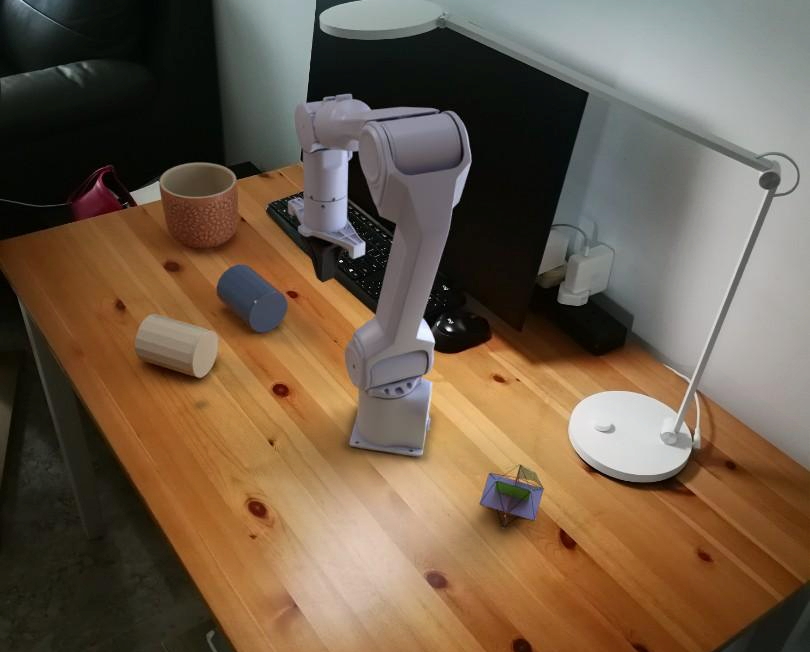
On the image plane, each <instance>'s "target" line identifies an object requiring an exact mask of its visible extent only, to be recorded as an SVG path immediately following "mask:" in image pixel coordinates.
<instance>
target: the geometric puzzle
mask: <svg viewBox="0 0 810 652" xmlns="http://www.w3.org/2000/svg"><path fill="white" fill-rule="evenodd" d="M509 468H511V466H509V467H508V469H509ZM516 468H518V471H517V474H516V476H511V475H507V474H509V473H510V472H512V471H513V470H515V469H516ZM505 469H507V467H505V468H504V470H505ZM498 471H500V470H499V469H498V470H497V472H498ZM494 472H496V470H495V471H493V472H491V471H490V472H488V476H487V480H486V482H485V484H484V487H483V491H482V495H481V498H480V502H479V503H478V505H479V506H481V507H483V508H484V507H485V508H487V509H489V510H491V511H493V512H495V513H497V516H498V518H499V521H500V523H501V524H500V525H501V528H502V529H505V528H507V527H508V528H509V527H511V525H510V524H511V523H513V522H515V520H517V519H521V520H528V521H529V523H530V522H532V521H533V522H536V519H537V514H538V511H539V508H540V504H541V500H542V497H543V492H544V490H545V487H544V486H543V484H542V482H541V481H540V479H539V477H538V475H537V473H536V472H535V471H533V470H531V468H528V467H526V466H525V465H522V464H521V463H519V464H518V465H515V466H514V468H512V469H510V470H509V471H508V472H506V473H505V474H501V475H500V474H499V473H494ZM506 476H507V477H506ZM512 478H514V479H512ZM520 480H521V481H520ZM522 481H523V482H522ZM530 481H533V482H535V483H536V484H534V483H532V482H530ZM525 482H526V483H525ZM499 511H502V512H503V513H501V512H499ZM508 514H512V515H515V516H513V518H514V519H513V520H511V521H510V522H508V523H507V524H506V520H507V517H508V518H512V516H511V515H508ZM500 515H501V516H503V517H504V518H503V522H502V519H501V516H500ZM526 523H527V522H524V524H526ZM522 524H523V522H522V523H520V525H522ZM508 525H509V526H508ZM517 525H518V526H519V523H518V524H516V526H517ZM513 526H515V524H513V525H512V527H513Z"/></svg>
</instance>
